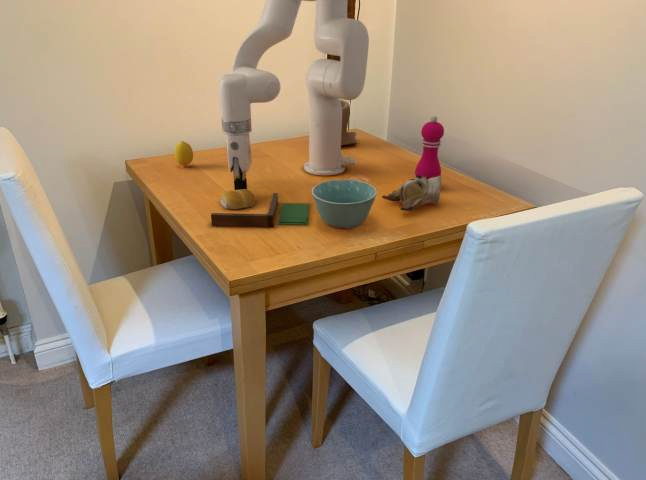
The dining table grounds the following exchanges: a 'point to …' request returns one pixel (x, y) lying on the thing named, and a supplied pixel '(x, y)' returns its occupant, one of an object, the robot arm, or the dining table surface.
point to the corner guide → (247, 217)
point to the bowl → (343, 202)
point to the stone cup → (346, 136)
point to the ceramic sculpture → (417, 192)
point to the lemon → (183, 153)
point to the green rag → (293, 214)
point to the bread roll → (237, 199)
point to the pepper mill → (430, 150)
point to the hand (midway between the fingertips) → (241, 192)
